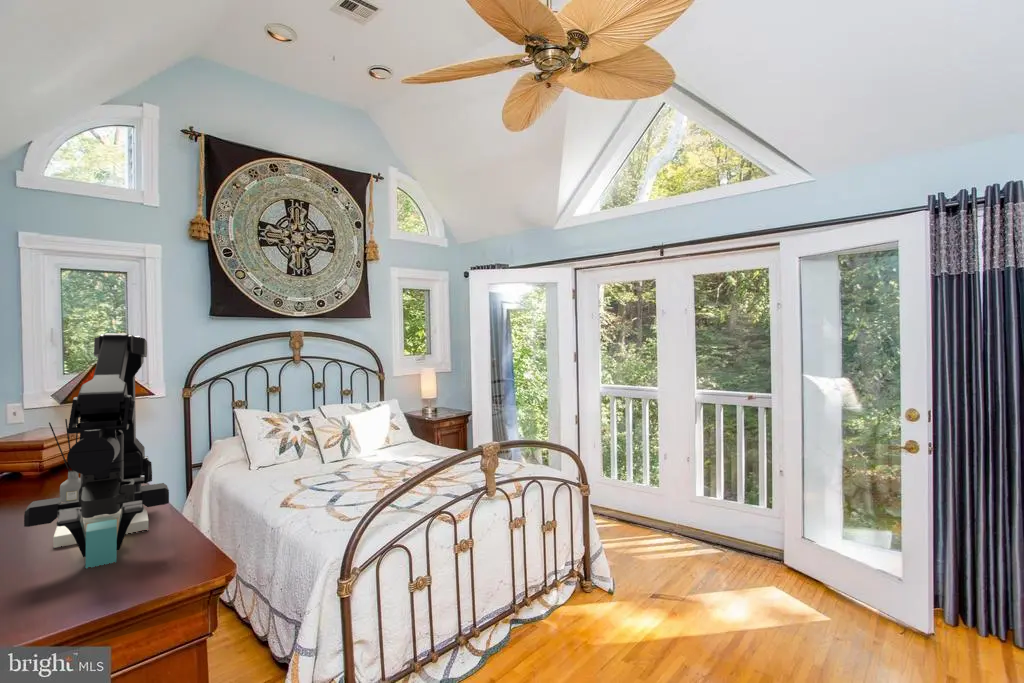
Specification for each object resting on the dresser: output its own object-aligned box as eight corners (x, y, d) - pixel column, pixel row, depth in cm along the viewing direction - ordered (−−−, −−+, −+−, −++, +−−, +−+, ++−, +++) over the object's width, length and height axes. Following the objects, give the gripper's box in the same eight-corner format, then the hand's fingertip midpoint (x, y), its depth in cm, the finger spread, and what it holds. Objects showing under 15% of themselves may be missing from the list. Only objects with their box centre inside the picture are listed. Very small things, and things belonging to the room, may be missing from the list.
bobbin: (83, 545, 91) (83, 512, 91) (121, 537, 95) (122, 506, 95) (81, 554, 87) (81, 520, 87) (121, 546, 90) (122, 513, 91)
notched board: (58, 533, 97) (58, 523, 97) (146, 518, 106) (146, 509, 106) (53, 548, 90) (53, 537, 90) (148, 530, 99) (148, 520, 99)
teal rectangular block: (86, 558, 85) (87, 524, 85) (116, 552, 88) (116, 519, 88) (85, 568, 81) (85, 532, 82) (116, 562, 84) (116, 526, 84)
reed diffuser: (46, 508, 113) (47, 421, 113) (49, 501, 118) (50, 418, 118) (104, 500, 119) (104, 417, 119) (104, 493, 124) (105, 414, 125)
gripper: (19, 480, 73) (17, 587, 73) (171, 462, 84) (171, 553, 84) (29, 467, 81) (28, 561, 81) (166, 452, 93) (166, 534, 93)
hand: (101, 553), depth 85 cm, fingers closed on teal rectangular block, 4 cm apart
